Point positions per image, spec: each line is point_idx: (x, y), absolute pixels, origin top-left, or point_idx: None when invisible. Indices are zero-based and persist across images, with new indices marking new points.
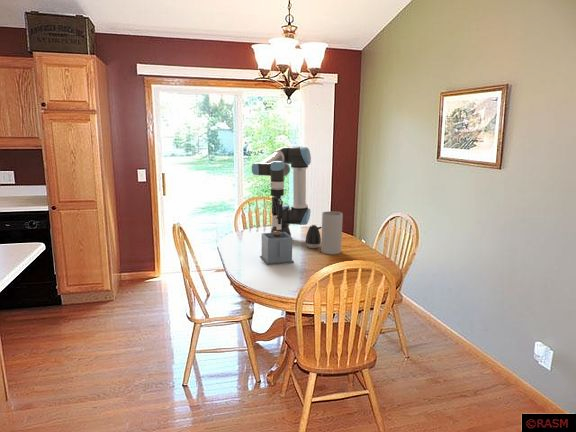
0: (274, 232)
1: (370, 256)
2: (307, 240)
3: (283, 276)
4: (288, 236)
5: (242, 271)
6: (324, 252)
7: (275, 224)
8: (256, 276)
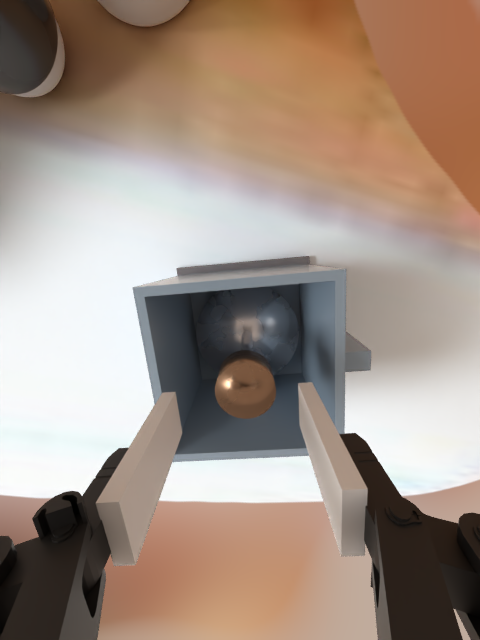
0: (263, 413)
1: None
2: (17, 73)
3: (470, 341)
4: (267, 285)
5: None
6: (175, 12)
7: (172, 426)
8: (430, 433)
